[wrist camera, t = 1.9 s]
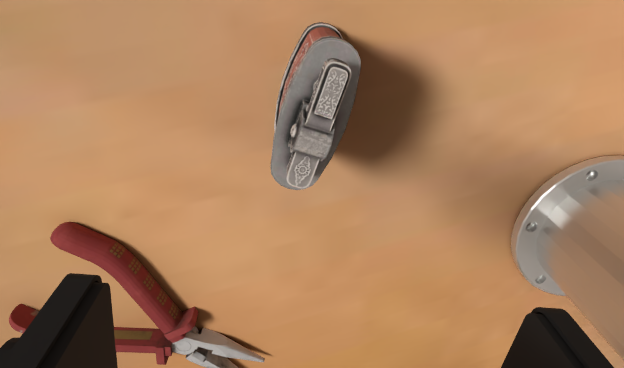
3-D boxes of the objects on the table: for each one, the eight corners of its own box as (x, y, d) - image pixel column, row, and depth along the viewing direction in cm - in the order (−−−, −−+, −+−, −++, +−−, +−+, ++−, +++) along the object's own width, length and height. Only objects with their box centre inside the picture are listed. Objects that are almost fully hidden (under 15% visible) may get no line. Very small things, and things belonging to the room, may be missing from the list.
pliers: (226, 393, 41) (222, 418, 39) (16, 308, 35) (-3, 332, 33) (291, 318, 37) (291, 341, 35) (68, 209, 31) (50, 228, 29)
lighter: (311, 147, 29) (321, 221, 20) (265, 132, 29) (254, 203, 20) (353, 32, 26) (387, 61, 17) (302, 14, 26) (310, 33, 17)
